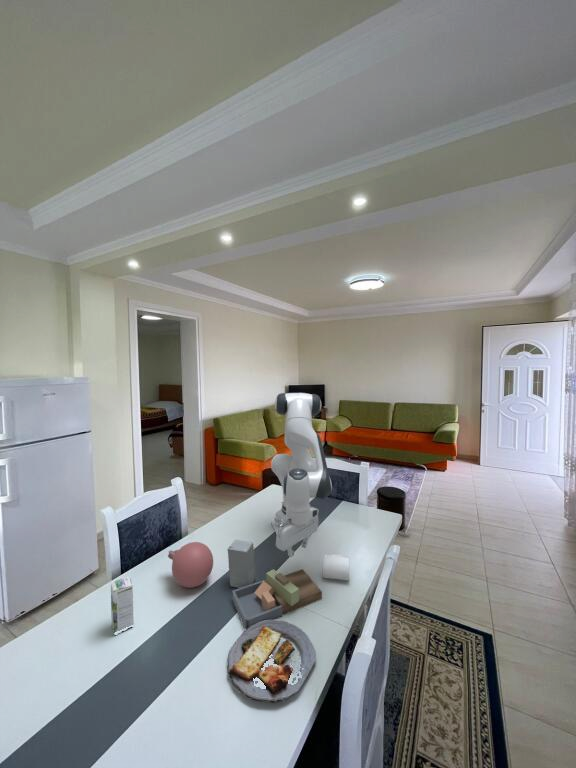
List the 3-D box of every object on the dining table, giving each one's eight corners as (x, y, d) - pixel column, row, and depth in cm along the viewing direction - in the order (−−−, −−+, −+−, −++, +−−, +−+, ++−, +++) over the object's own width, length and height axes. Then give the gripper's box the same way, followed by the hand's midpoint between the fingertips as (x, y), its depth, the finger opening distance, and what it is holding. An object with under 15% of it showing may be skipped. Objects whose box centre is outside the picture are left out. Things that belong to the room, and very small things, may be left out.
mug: (348, 585, 122) (349, 565, 121) (322, 582, 124) (323, 562, 123) (349, 566, 134) (349, 547, 133) (325, 563, 136) (325, 545, 135)
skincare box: (255, 580, 125) (255, 541, 124) (247, 592, 118) (247, 551, 117) (236, 575, 128) (236, 537, 127) (227, 587, 121) (227, 547, 120)
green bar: (266, 584, 118) (266, 570, 118) (273, 580, 120) (273, 566, 120) (291, 606, 107) (291, 590, 107) (298, 601, 110) (298, 585, 109)
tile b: (268, 604, 112) (261, 606, 110) (268, 590, 111) (261, 593, 110) (274, 613, 107) (268, 616, 106) (274, 599, 107) (268, 602, 106)
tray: (232, 600, 114) (231, 590, 114) (264, 588, 120) (264, 579, 120) (246, 631, 101) (246, 620, 101) (282, 616, 107) (282, 606, 107)
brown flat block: (265, 589, 120) (265, 581, 120) (302, 576, 127) (302, 568, 127) (282, 615, 107) (282, 606, 107) (321, 599, 115) (321, 591, 115)
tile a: (257, 597, 115) (254, 592, 114) (266, 584, 118) (263, 580, 117) (265, 604, 111) (262, 600, 110) (274, 591, 114) (271, 587, 113)
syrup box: (111, 624, 104) (109, 582, 103) (130, 616, 107) (129, 575, 106) (114, 636, 99) (112, 592, 98) (134, 627, 103) (133, 584, 102)
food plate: (281, 728, 74) (281, 713, 74) (210, 677, 87) (209, 664, 86) (326, 649, 95) (326, 637, 95) (264, 617, 108) (264, 607, 108)
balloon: (185, 562, 136) (184, 528, 135) (221, 577, 126) (221, 540, 125) (155, 584, 122) (154, 546, 121) (193, 603, 113) (192, 561, 112)
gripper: (284, 528, 106) (284, 568, 107) (321, 508, 121) (321, 543, 122) (271, 522, 111) (271, 560, 112) (308, 503, 126) (308, 537, 127)
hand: (297, 551), depth 117 cm, fingers open, 6 cm apart
